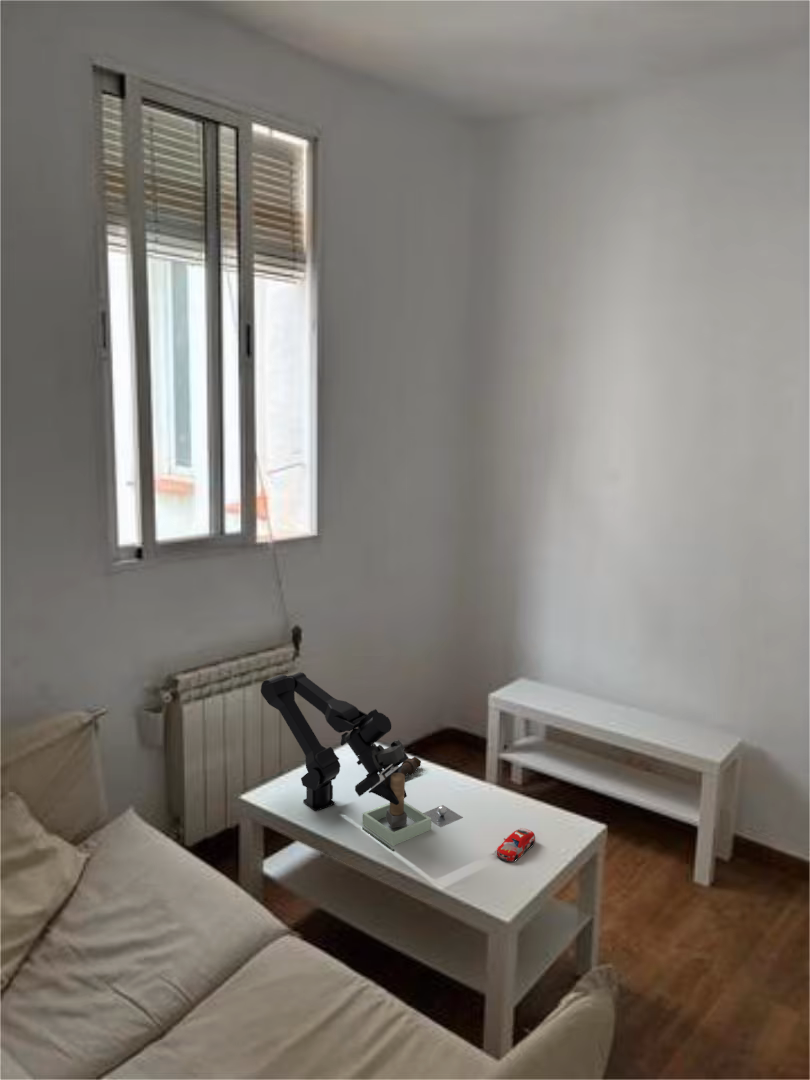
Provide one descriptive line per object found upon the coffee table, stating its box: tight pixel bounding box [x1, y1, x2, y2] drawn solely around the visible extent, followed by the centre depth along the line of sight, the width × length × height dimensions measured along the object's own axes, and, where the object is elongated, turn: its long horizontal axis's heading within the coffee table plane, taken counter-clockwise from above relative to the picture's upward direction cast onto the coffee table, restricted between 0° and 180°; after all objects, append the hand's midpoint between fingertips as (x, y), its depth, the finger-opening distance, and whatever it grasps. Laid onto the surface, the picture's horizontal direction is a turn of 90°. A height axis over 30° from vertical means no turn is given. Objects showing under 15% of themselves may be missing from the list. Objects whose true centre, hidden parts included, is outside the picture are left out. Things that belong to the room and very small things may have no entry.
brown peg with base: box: [385, 773, 408, 829], centre depth 204 cm, size 4×4×13 cm
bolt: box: [383, 756, 422, 778], centre depth 235 cm, size 6×5×15 cm
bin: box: [361, 800, 432, 852], centre depth 205 cm, size 13×13×4 cm
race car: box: [496, 827, 536, 863], centre depth 198 cm, size 13×5×4 cm, turn 141°
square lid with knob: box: [422, 804, 464, 828], centre depth 211 cm, size 8×8×4 cm
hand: (401, 800), depth 203 cm, fingers closed on brown peg with base, 4 cm apart
